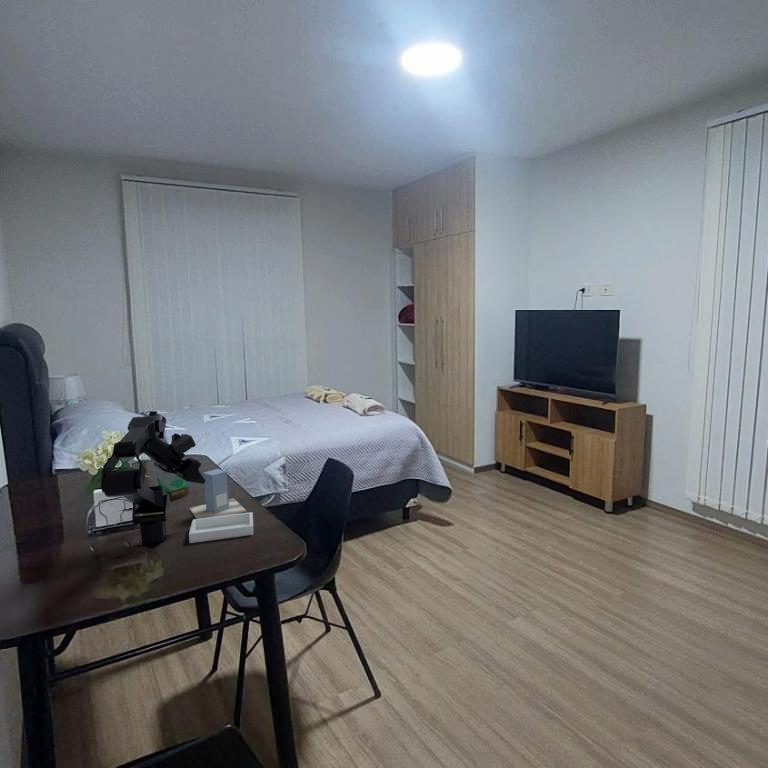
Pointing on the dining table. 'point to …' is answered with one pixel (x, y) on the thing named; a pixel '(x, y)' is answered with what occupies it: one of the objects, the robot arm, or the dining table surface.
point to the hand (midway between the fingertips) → (196, 478)
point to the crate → (221, 527)
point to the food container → (172, 485)
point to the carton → (216, 490)
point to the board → (203, 513)
